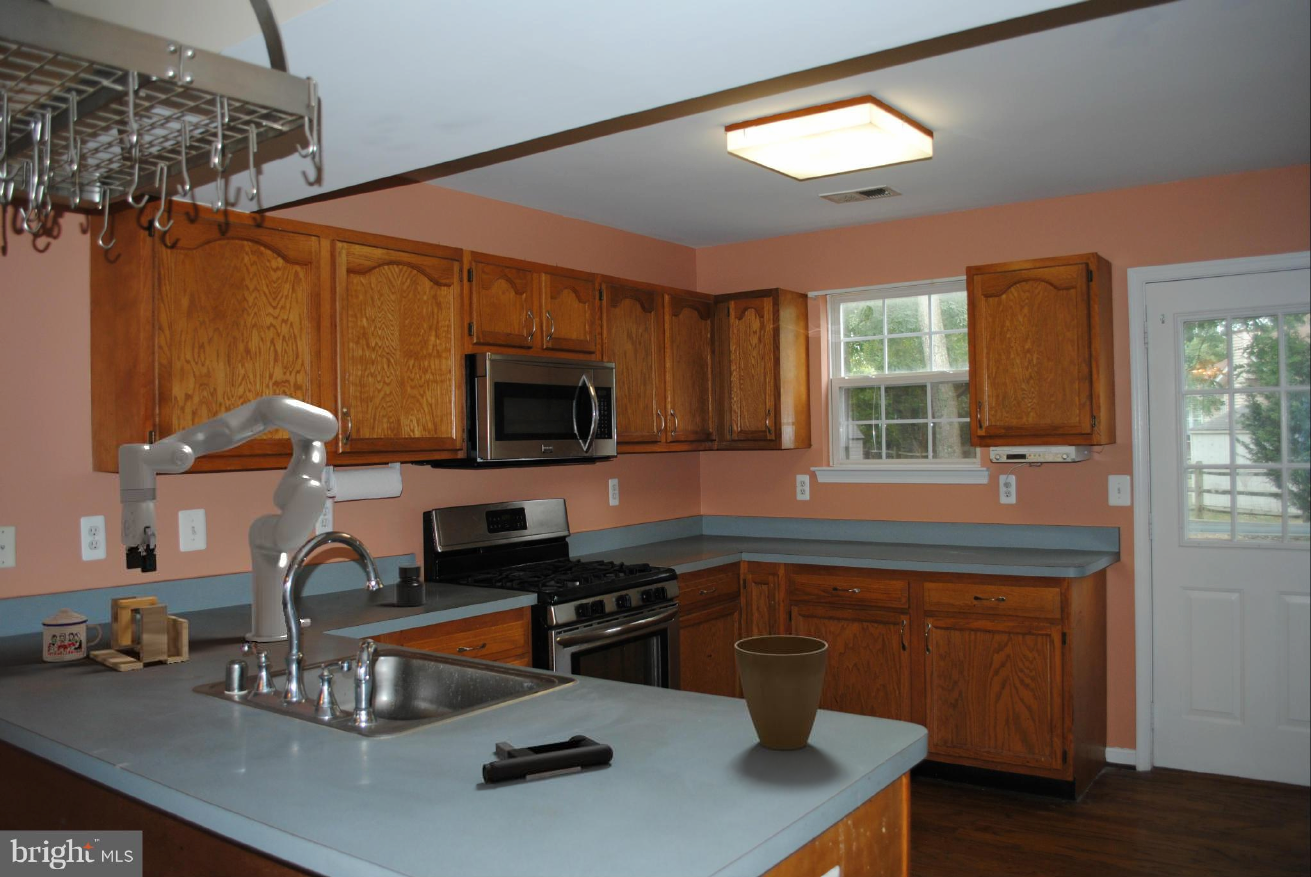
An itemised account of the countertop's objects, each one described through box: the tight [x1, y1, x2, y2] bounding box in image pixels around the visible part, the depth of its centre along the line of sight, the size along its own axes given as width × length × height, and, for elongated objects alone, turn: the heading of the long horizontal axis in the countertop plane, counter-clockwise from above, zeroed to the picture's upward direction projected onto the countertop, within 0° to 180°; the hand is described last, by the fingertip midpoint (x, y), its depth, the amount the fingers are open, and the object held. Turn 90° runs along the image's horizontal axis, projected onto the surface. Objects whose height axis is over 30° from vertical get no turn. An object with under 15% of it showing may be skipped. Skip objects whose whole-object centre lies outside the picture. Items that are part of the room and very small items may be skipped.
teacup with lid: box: [41, 607, 103, 663], centre depth 224 cm, size 12×9×12 cm
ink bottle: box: [394, 564, 426, 608], centre depth 296 cm, size 10×9×12 cm
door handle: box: [481, 734, 614, 784], centre depth 146 cm, size 3×20×16 cm
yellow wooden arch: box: [118, 596, 159, 646], centre depth 221 cm, size 8×3×10 cm, turn 135°
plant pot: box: [734, 635, 829, 751], centre depth 154 cm, size 15×15×16 cm
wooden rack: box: [89, 595, 189, 672], centre depth 221 cm, size 22×14×13 cm, turn 46°
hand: (141, 570), depth 222 cm, fingers open, 9 cm apart
